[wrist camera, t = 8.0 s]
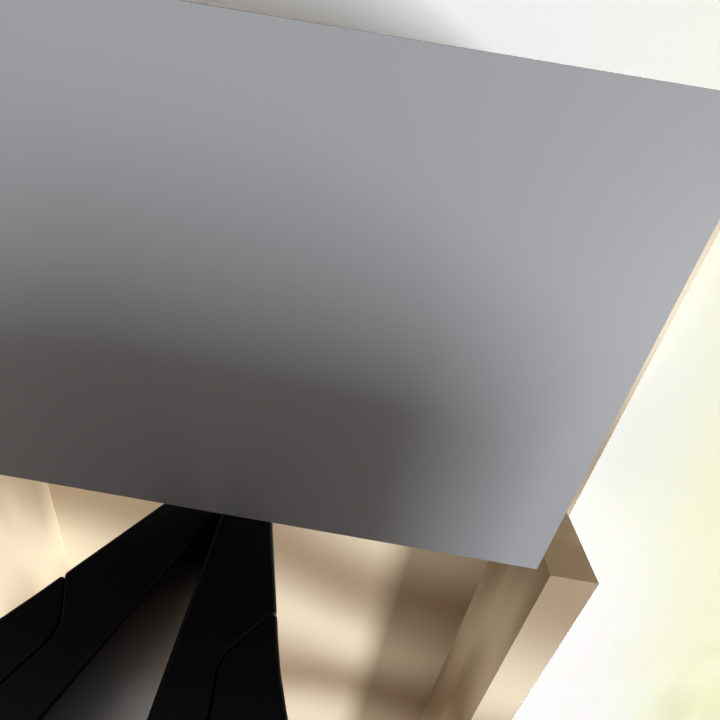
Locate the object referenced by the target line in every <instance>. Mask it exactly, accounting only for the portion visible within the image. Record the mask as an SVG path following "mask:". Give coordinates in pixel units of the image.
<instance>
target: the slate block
mask: <svg viewBox="0 0 720 720" xmlns="http://www.w3.org/2000/svg"><path fill="white" fill-rule="evenodd" d="M719 220H720V91H719V90H713V89H707V88H701V87H695V86H689V85H683V84H677V83H671V82H665V81H659V80H653V79H647V78H641V77H635V76H629V75H623V74H617V73H611V72H605V71H599V70H593V69H587V68H581V67H575V66H570V65H564V64H558V63H552V62H546V61H540V60H534V59H528V58H522V57H516V56H510V55H504V54H498V53H492V52H486V51H480V50H474V49H468V48H462V47H456V46H450V45H444V44H438V43H432V42H426V41H420V40H414V39H408V38H402V37H396V36H390V35H384V34H378V33H372V32H366V31H360V30H354V29H348V28H342V27H336V26H330V25H324V24H318V23H312V22H306V21H300V20H294V19H288V18H282V17H276V16H270V15H264V14H258V13H252V12H246V11H240V10H234V9H228V8H222V7H216V6H210V5H204V4H198V3H192V2H186V1H180V0H0V475H5V476H11V477H17V478H22V479H28V480H34V481H39V482H45V483H51V484H56V485H62V486H68V487H73V488H79V489H85V490H90V491H96V492H102V493H107V494H113V495H119V496H124V497H130V498H136V499H141V500H147V501H153V502H158V503H164V504H170V505H175V506H181V507H187V508H192V509H198V510H204V511H209V512H215V513H221V514H226V515H232V516H238V517H243V518H249V519H255V520H260V521H266V522H272V523H277V524H283V525H289V526H294V527H300V528H306V529H311V530H317V531H323V532H328V533H334V534H340V535H345V536H351V537H357V538H362V539H368V540H374V541H379V542H385V543H391V544H396V545H402V546H408V547H413V548H419V549H425V550H430V551H436V552H442V553H447V554H453V555H459V556H464V557H470V558H476V559H481V560H487V561H493V562H498V563H504V564H510V565H515V566H521V567H527V568H532V569H537V568H538V566H539V564H540V562H541V560H542V558H543V556H544V554H545V552H546V551H547V549H548V547H549V545H550V543H551V541H552V539H553V537H554V535H555V533H556V531H557V529H558V528H559V526H560V524H561V522H562V520H563V518H564V516H565V514H566V512H567V510H568V508H569V507H570V505H571V503H572V501H573V499H574V497H575V495H576V493H577V491H578V489H579V487H580V485H581V484H582V482H583V480H584V478H585V476H586V474H587V472H588V470H589V468H590V466H591V464H592V463H593V461H594V459H595V457H596V455H597V453H598V451H599V449H600V447H601V445H602V443H603V441H604V440H605V438H606V436H607V434H608V432H609V430H610V428H611V426H612V424H613V422H614V420H615V419H616V417H617V415H618V413H619V411H620V409H621V407H622V405H623V403H624V401H625V399H626V397H627V396H628V394H629V392H630V390H631V388H632V386H633V384H634V382H635V380H636V378H637V376H638V375H639V373H640V371H641V369H642V367H643V365H644V363H645V361H646V359H647V357H648V355H649V353H650V352H651V350H652V348H653V346H654V344H655V342H656V340H657V338H658V336H659V334H660V332H661V331H662V329H663V327H664V325H665V323H666V321H667V319H668V317H669V315H670V313H671V311H672V309H673V308H674V306H675V304H676V302H677V300H678V298H679V296H680V294H681V292H682V290H683V288H684V286H685V285H686V283H687V281H688V279H689V277H690V275H691V273H692V271H693V269H694V267H695V265H696V264H697V262H698V260H699V258H700V256H701V254H702V252H703V250H704V248H705V246H706V244H707V242H708V241H709V239H710V237H711V235H712V233H713V231H714V229H715V227H716V225H717V223H718V221H719Z"/></svg>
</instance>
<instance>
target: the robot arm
mask: <svg viewBox="0 0 720 720" xmlns="http://www.w3.org/2000/svg"><path fill="white" fill-rule="evenodd" d="M276 615H277V606H276V583H275V561H274V539H273V523H272V522H266V521H260V520H255V519H249V518H243V517H238V516H232V515H226V514H221V513H215V512H209V511H204V510H198V509H192V508H187V507H181V506H175V505H170V504H162V505H161V506H160V507H158V508H157V509H155V510H154V511H153V512H151V513H150V514H148V515H147V516H146V517H144V518H143V519H141V520H140V521H138V522H137V523H136V524H134V525H133V526H131V527H130V528H129V529H127V530H126V531H124V532H123V533H122V534H120V535H119V536H117V537H116V538H115V539H113V540H112V541H110V542H109V543H107V544H106V545H105V546H103V547H102V548H100V549H99V550H98V551H96V552H95V553H93V554H92V555H91V556H89V557H88V558H86V559H85V560H83V561H82V562H81V563H79V564H78V565H76V566H75V567H74V568H72V569H71V570H69V571H68V572H67V573H66V574H65V578H64V577H59V578H58V579H56V580H55V581H54V582H52V583H51V584H49V585H48V586H46V587H45V588H44V589H42V590H41V591H39V592H38V593H37V594H35V595H34V596H32V597H31V598H29V599H28V600H26V601H25V602H23V603H22V604H20V605H19V606H17V607H16V608H15V609H13V610H12V611H10V612H9V613H7V614H6V615H4V616H3V617H1V618H0V720H288V716H287V710H286V704H285V697H284V690H283V683H282V677H281V667H280V655H279V643H278V623H277V616H276Z"/></svg>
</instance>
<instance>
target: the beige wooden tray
mask: <svg viewBox="0 0 720 720" xmlns="http://www.w3.org/2000/svg"><path fill="white" fill-rule="evenodd" d="M719 231H720V220H719V221H718V223H717V225H716V227H715V229H714V231H713V233H712V235H711V237H710V239H709V241H708V242H707V244H706V246H705V248H704V250H703V252H702V254H701V256H700V258H699V260H698V262H697V264H696V265H695V267H694V269H693V271H692V273H691V275H690V277H689V279H688V281H687V283H686V285H685V286H684V288H683V290H682V292H681V294H680V296H679V298H678V300H677V302H676V304H675V306H674V308H673V309H672V311H671V313H670V315H669V317H668V319H667V321H666V323H665V325H664V327H663V329H662V331H661V332H660V334H659V336H658V338H657V340H656V342H655V344H654V346H653V348H652V350H651V352H650V353H649V355H648V357H647V359H646V361H645V363H644V365H643V367H642V369H641V371H640V373H639V375H638V376H637V378H636V380H635V382H634V384H633V386H632V388H631V390H630V392H629V394H628V396H627V397H626V399H625V401H624V403H623V405H622V407H621V409H620V411H619V413H618V415H617V417H616V419H615V420H614V422H613V424H612V426H611V428H610V430H609V432H608V434H607V436H606V438H605V440H604V441H603V443H602V445H601V447H600V449H599V451H598V453H597V455H596V457H595V459H594V461H593V463H592V464H591V466H590V468H589V470H588V472H587V474H586V476H585V478H584V480H583V482H582V484H581V485H580V487H579V489H578V491H577V493H576V495H575V497H574V499H573V501H572V503H571V505H570V507H569V508H568V510H567V512H566V514H565V516H564V518H563V520H562V522H561V524H560V526H559V528H558V529H557V531H556V533H555V535H554V537H553V539H552V541H551V543H550V545H549V547H548V549H547V551H546V552H545V554H544V556H543V558H542V560H541V562H540V564H539V566H538V568H537V569H532V568H527V567H521V566H515V565H510V564H504V563H498V562H493V561H487V560H481V559H476V558H470V557H464V556H459V555H453V554H447V553H442V552H436V551H430V550H425V549H419V548H413V547H408V546H402V545H396V544H391V543H385V542H379V541H374V540H368V539H362V538H357V537H351V536H345V535H340V534H334V533H328V532H323V531H317V530H311V529H306V528H300V527H294V526H289V525H283V524H277V523H273V539H274V561H275V583H276V606H277V615H276V616H277V623H278V643H279V655H280V667H281V677H282V683H283V690H284V697H285V704H286V710H287V716H288V720H512V718H513V717H514V715H515V713H516V712H517V710H518V709H519V707H520V706H521V704H522V703H523V701H524V699H525V698H526V696H527V695H528V693H529V692H530V690H531V689H532V687H533V685H534V684H535V682H536V681H537V679H538V678H539V676H540V675H541V673H542V671H543V670H544V668H545V667H546V665H547V664H548V662H549V661H550V659H551V657H552V656H553V654H554V653H555V651H556V650H557V648H558V646H559V645H560V643H561V642H562V640H563V639H564V637H565V636H566V634H567V632H568V631H569V629H570V628H571V626H572V625H573V623H574V622H575V620H576V618H577V617H578V615H579V614H580V612H581V611H582V609H583V608H584V606H585V604H586V603H587V601H588V600H589V598H590V597H591V595H592V593H593V592H594V590H595V589H596V587H597V586H598V584H599V583H598V581H597V579H596V577H595V574H594V572H593V570H592V568H591V566H590V563H589V561H588V559H587V557H586V554H585V552H584V550H583V548H582V545H581V543H580V541H579V539H578V536H577V534H576V532H575V530H574V527H573V525H572V523H571V521H570V518H569V514H570V512H571V511H572V509H573V507H574V505H575V503H576V501H577V499H578V497H579V495H580V494H581V492H582V490H583V488H584V486H585V484H586V482H587V480H588V478H589V477H590V475H591V473H592V471H593V469H594V467H595V465H596V463H597V461H598V459H599V458H600V456H601V454H602V452H603V450H604V448H605V446H606V444H607V442H608V441H609V439H610V437H611V435H612V433H613V431H614V429H615V427H616V425H617V424H618V422H619V420H620V418H621V416H622V414H623V412H624V410H625V408H626V407H627V405H628V403H629V401H630V399H631V397H632V395H633V393H634V391H635V390H636V388H637V386H638V384H639V382H640V380H641V378H642V376H643V374H644V373H645V371H646V369H647V367H648V365H649V363H650V361H651V359H652V357H653V356H654V354H655V352H656V350H657V348H658V346H659V344H660V342H661V340H662V338H663V337H664V335H665V333H666V331H667V329H668V327H669V325H670V323H671V321H672V320H673V318H674V316H675V314H676V312H677V310H678V308H679V306H680V304H681V303H682V301H683V299H684V297H685V295H686V293H687V291H688V289H689V287H690V286H691V284H692V282H693V280H694V278H695V276H696V274H697V272H698V270H699V269H700V267H701V265H702V263H703V261H704V259H705V257H706V255H707V253H708V252H709V250H710V248H711V246H712V244H713V242H714V240H715V238H716V236H717V234H718V233H719ZM162 504H164V503H158V502H153V501H147V500H141V499H136V498H130V497H124V496H119V495H113V494H107V493H102V492H96V491H90V490H85V489H79V488H73V487H68V486H62V485H56V484H51V483H45V482H39V481H34V480H28V479H22V478H17V477H11V476H5V475H0V618H1V617H3V616H4V615H6V614H7V613H9V612H10V611H12V610H13V609H15V608H16V607H17V606H19V605H20V604H22V603H23V602H25V601H26V600H28V599H29V598H31V597H32V596H34V595H35V594H37V593H38V592H39V591H41V590H42V589H44V588H45V587H46V586H48V585H49V584H51V583H52V582H54V581H55V580H56V579H58V578H59V577H64V578H65V574H66V573H67V572H68V571H69V570H71V569H72V568H74V567H75V566H76V565H78V564H79V563H81V562H82V561H83V560H85V559H86V558H88V557H89V556H91V555H92V554H93V553H95V552H96V551H98V550H99V549H100V548H102V547H103V546H105V545H106V544H107V543H109V542H110V541H112V540H113V539H115V538H116V537H117V536H119V535H120V534H122V533H123V532H124V531H126V530H127V529H129V528H130V527H131V526H133V525H134V524H136V523H137V522H138V521H140V520H141V519H143V518H144V517H146V516H147V515H148V514H150V513H151V512H153V511H154V510H155V509H157V508H158V507H160V506H161V505H162Z"/></svg>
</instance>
